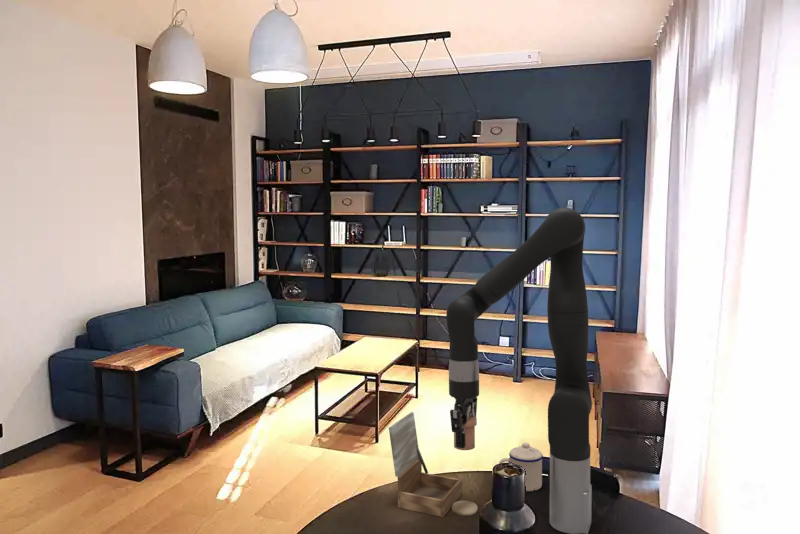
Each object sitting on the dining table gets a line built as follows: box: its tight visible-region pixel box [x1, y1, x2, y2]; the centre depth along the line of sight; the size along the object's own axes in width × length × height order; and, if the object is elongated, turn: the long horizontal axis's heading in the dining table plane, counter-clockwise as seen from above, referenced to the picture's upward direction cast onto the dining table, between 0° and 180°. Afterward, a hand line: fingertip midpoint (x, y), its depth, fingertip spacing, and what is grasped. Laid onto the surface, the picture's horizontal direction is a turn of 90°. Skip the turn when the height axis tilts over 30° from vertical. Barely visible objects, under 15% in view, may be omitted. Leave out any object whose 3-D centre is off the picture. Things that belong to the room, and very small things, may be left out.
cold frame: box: [388, 411, 463, 518], centre depth 152 cm, size 15×14×20 cm
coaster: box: [451, 500, 478, 517], centre depth 147 cm, size 6×6×1 cm
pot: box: [453, 416, 478, 451], centre depth 146 cm, size 6×6×7 cm
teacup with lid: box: [498, 442, 544, 492], centre depth 161 cm, size 12×9×12 cm
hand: (464, 443), depth 146 cm, fingers closed on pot, 5 cm apart
